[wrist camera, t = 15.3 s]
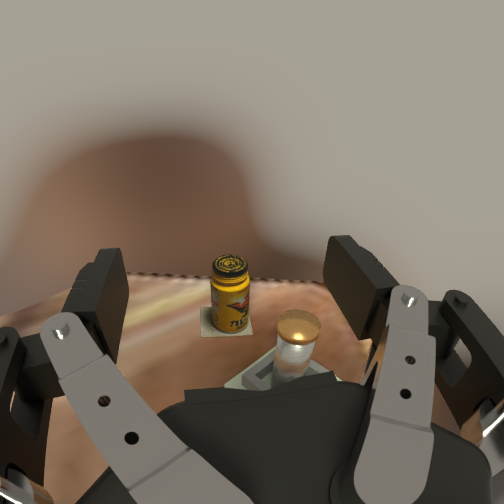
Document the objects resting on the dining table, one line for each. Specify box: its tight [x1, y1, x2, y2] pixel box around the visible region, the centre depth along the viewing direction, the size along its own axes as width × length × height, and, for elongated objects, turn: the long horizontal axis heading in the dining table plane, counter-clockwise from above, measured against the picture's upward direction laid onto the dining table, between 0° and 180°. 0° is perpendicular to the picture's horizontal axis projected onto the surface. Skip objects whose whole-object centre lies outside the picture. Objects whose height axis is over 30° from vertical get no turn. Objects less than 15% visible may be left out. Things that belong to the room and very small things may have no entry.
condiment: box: [200, 255, 253, 337], centre depth 48 cm, size 7×8×12 cm
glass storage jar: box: [270, 310, 321, 388], centre depth 36 cm, size 5×5×12 cm
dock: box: [224, 346, 342, 391], centre depth 38 cm, size 12×12×4 cm
